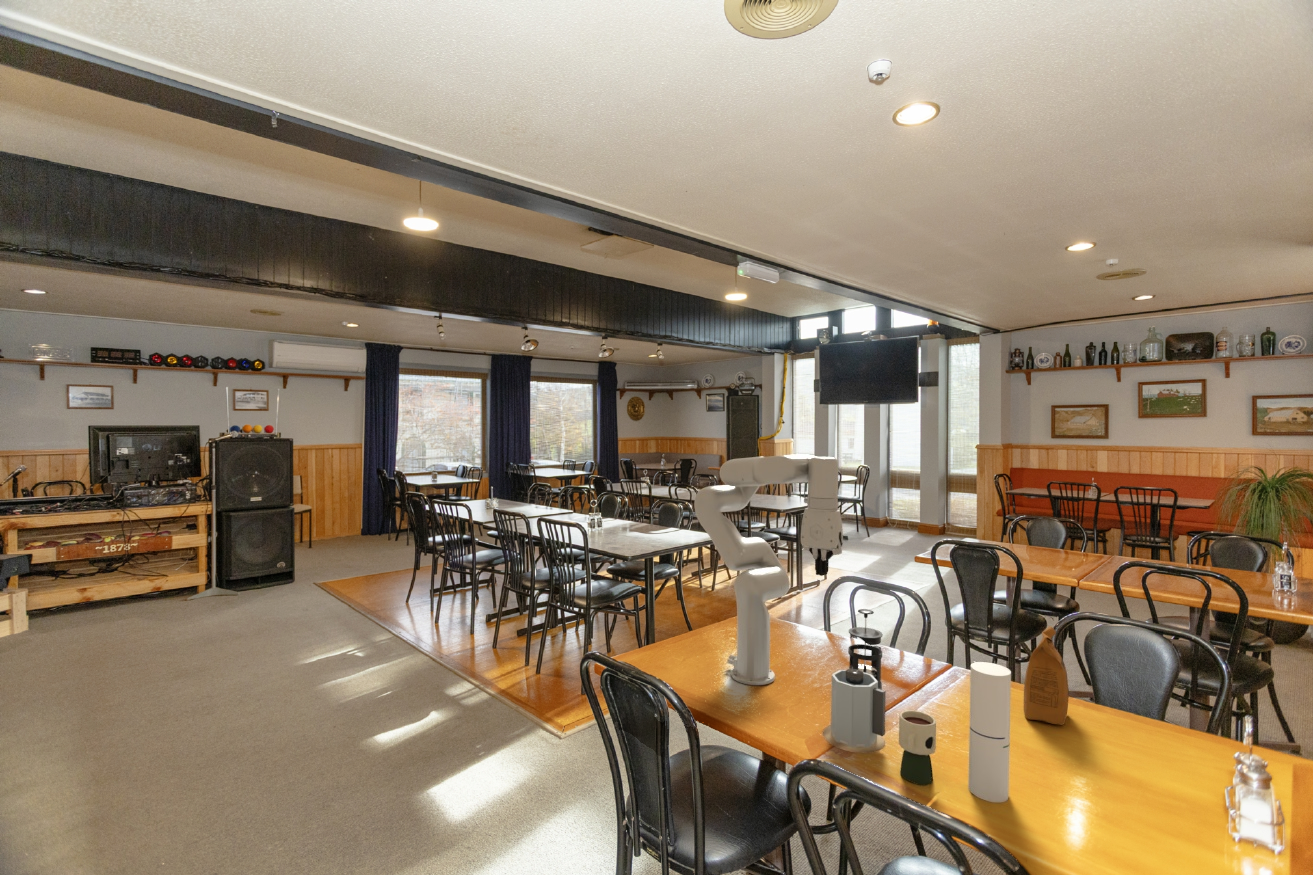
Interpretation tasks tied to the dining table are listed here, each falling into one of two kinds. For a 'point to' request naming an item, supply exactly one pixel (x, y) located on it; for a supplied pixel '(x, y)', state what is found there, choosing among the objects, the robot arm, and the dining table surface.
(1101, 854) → the dining table surface
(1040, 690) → the coffee package
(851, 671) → the plunger
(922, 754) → the character mug
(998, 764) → the cylindrical container
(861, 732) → the carafe
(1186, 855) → the dining table surface
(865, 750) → the trivet
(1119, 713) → the dining table surface
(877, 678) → the french press
